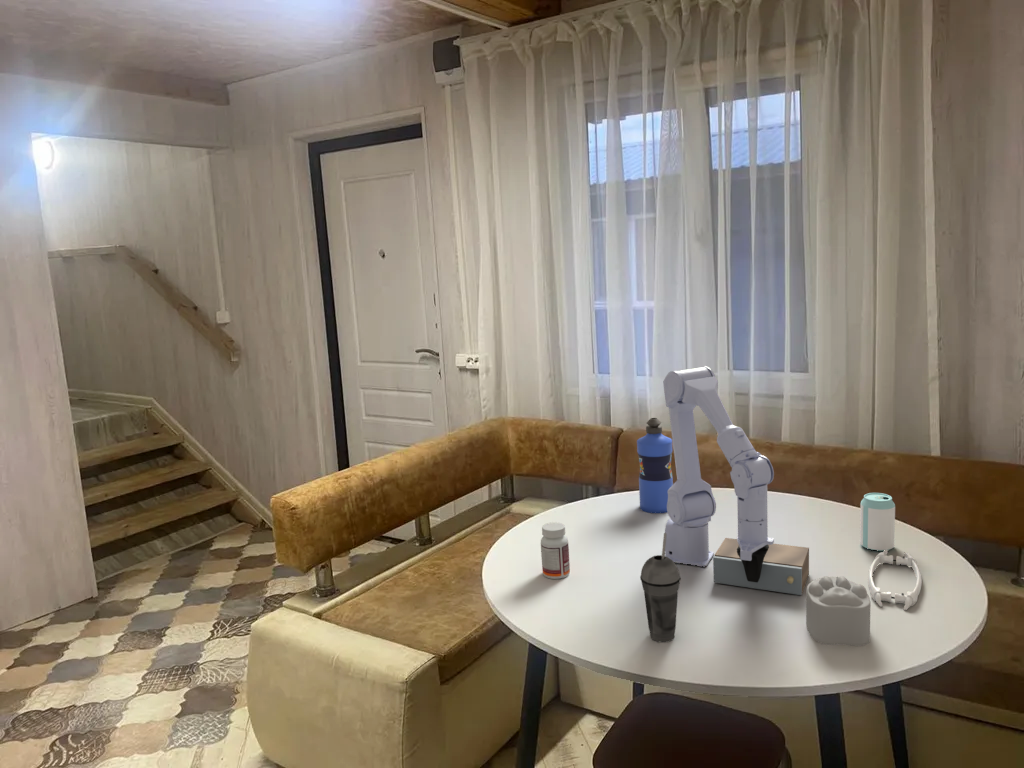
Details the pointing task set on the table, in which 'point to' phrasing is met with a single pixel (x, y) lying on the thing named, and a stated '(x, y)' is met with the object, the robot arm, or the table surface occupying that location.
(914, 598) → the white oval frame
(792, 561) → the walnut cabinet
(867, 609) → the grey paw shaped block
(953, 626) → the table surface
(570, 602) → the table surface
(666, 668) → the table surface
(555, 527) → the pill bottle
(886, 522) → the can
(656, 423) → the water bottle
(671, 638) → the beverage cup
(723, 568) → the cabinet door
